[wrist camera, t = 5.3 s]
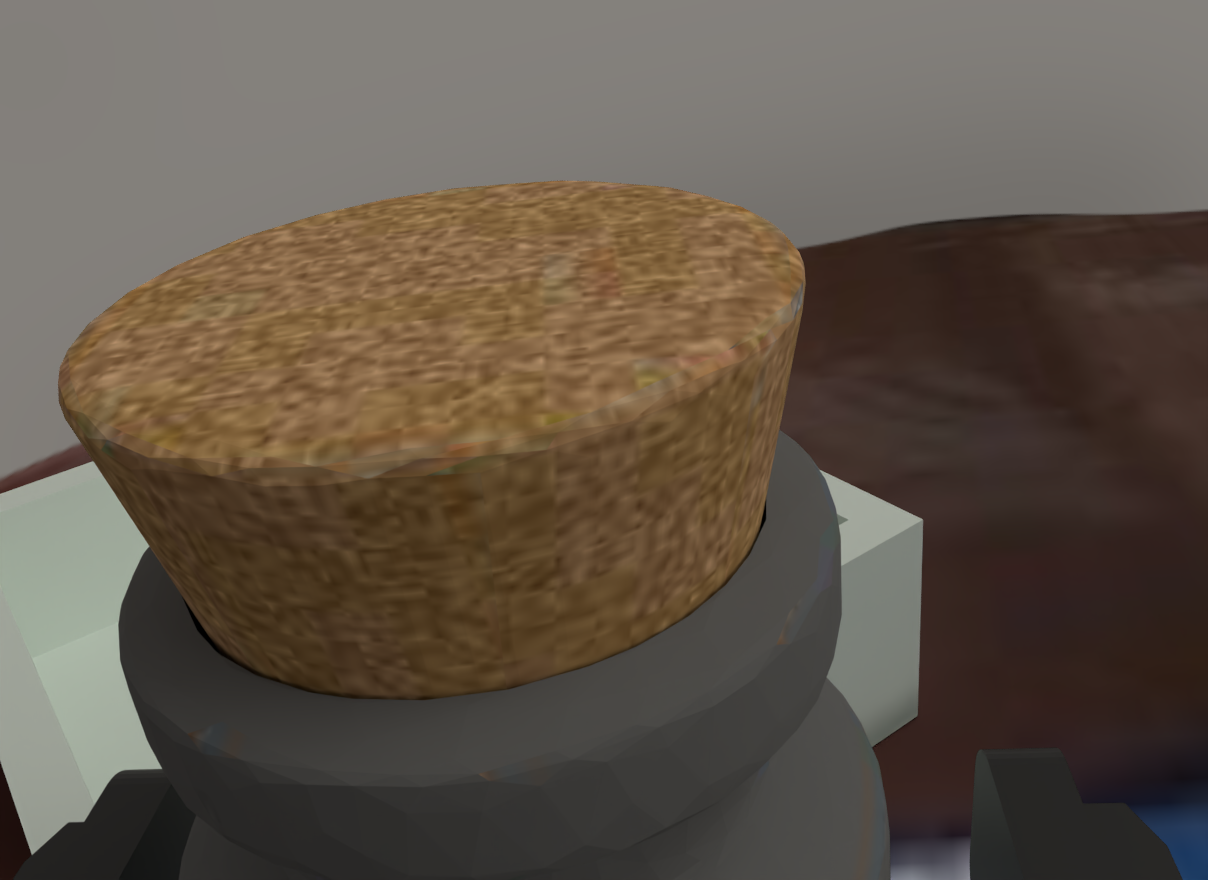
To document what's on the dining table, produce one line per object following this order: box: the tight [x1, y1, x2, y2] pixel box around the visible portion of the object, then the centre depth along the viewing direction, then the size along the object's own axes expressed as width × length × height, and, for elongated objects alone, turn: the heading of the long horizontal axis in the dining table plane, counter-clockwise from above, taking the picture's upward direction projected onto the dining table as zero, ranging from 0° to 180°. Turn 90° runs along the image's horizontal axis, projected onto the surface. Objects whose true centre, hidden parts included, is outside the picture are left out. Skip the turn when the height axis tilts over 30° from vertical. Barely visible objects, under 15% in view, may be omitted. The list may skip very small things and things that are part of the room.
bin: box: [0, 462, 923, 855], centre depth 26 cm, size 16×16×5 cm
